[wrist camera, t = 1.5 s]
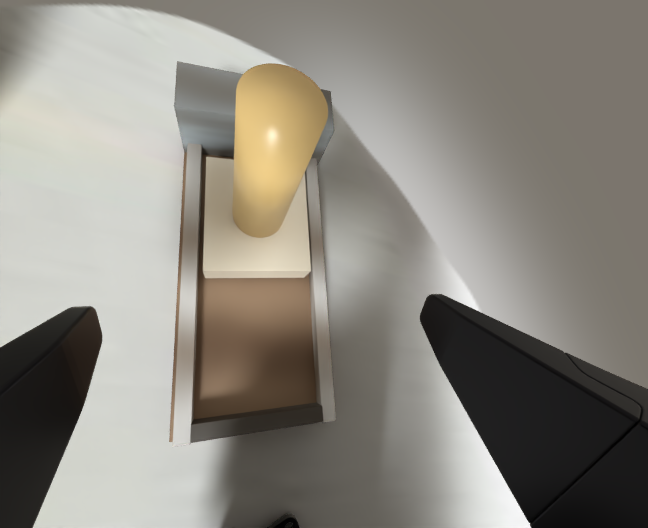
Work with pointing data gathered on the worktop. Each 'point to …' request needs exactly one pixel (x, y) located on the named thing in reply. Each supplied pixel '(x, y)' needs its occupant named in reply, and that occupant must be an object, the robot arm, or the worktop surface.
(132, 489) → the worktop surface
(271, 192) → the rail carriage
